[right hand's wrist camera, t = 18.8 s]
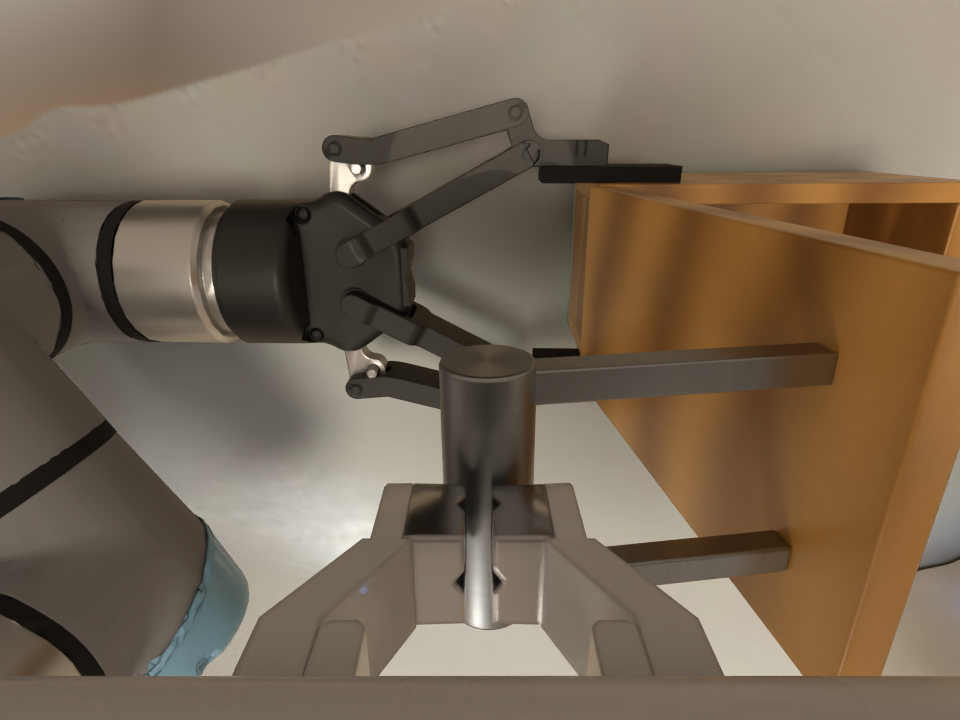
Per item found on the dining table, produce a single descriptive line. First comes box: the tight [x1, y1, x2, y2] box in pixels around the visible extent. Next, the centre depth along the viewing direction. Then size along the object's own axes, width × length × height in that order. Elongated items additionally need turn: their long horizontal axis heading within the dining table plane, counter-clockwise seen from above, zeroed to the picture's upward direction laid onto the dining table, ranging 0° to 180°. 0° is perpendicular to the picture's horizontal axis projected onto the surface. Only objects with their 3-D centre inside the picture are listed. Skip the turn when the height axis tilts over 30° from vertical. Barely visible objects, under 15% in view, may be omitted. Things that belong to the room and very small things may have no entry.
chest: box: [568, 171, 960, 353], centre depth 31 cm, size 17×9×9 cm, turn 90°
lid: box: [439, 186, 960, 676], centre depth 18 cm, size 18×9×9 cm
